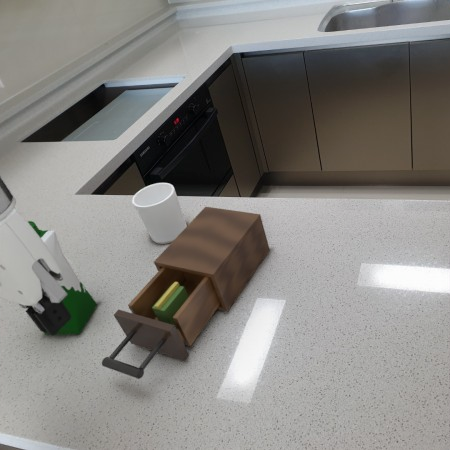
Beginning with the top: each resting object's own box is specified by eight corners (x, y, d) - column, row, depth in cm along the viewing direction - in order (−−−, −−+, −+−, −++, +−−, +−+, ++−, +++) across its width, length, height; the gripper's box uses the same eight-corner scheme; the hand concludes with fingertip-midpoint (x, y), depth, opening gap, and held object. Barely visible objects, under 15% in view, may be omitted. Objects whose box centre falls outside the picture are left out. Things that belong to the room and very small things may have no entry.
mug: (196, 231, 101) (181, 192, 95) (159, 251, 97) (141, 212, 91) (175, 212, 108) (160, 175, 102) (140, 230, 105) (122, 192, 99)
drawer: (159, 398, 67) (140, 368, 63) (103, 377, 72) (82, 348, 68) (234, 291, 83) (224, 261, 78) (184, 279, 87) (171, 251, 83)
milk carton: (104, 300, 88) (53, 217, 76) (81, 339, 81) (21, 254, 69) (63, 302, 89) (7, 221, 77) (37, 340, 82) (-29, 257, 70)
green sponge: (193, 307, 80) (182, 283, 76) (174, 332, 76) (162, 307, 72) (182, 304, 81) (170, 280, 77) (162, 328, 77) (149, 304, 73)
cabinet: (227, 312, 80) (213, 274, 75) (170, 297, 85) (153, 261, 80) (270, 250, 91) (260, 214, 86) (217, 241, 97) (205, 206, 91)
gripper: (-110, 217, 46) (-7, 334, 57) (-18, 239, 40) (78, 365, 51) (-42, 177, 52) (40, 291, 63) (49, 191, 45) (123, 315, 56)
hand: (57, 324), depth 57 cm, fingers closed
